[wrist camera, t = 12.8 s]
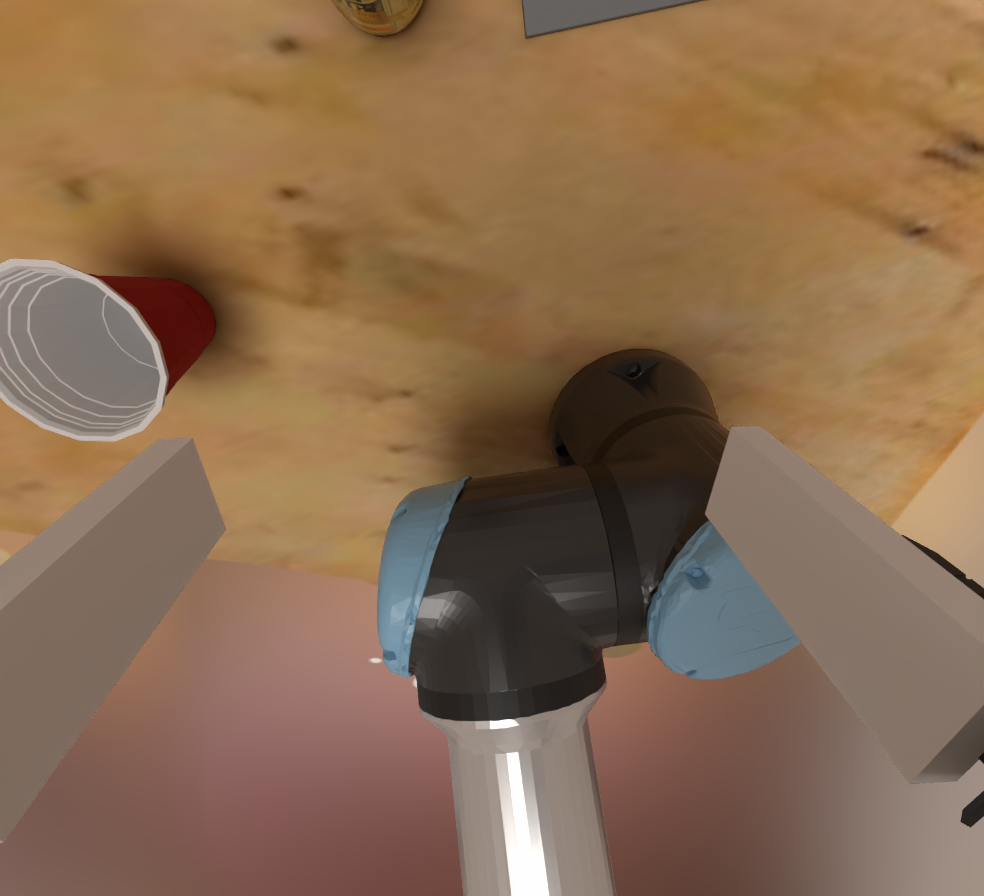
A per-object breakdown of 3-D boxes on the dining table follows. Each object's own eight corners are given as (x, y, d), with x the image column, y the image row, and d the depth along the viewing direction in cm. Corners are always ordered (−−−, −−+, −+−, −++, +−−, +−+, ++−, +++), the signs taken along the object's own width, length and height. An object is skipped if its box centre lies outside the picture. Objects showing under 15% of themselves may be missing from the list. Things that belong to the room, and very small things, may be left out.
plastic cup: (212, 228, 33) (98, 243, 23) (269, 365, 39) (197, 428, 28) (72, 252, 34) (-104, 277, 23) (147, 384, 39) (32, 454, 29)
